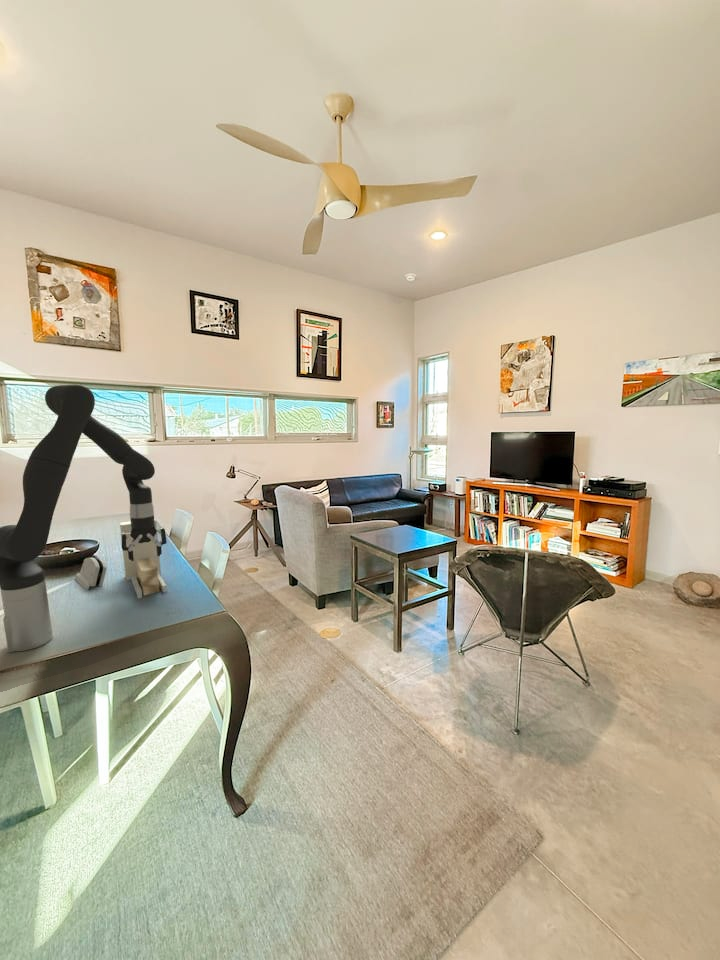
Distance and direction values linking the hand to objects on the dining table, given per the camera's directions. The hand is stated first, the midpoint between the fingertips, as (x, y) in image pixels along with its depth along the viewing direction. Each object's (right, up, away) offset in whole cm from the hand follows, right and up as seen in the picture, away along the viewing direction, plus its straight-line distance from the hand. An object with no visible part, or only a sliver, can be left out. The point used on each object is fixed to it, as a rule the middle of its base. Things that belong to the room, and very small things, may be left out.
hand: (145, 558), depth 142 cm
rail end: (0, -11, +2) cm, 11 cm away
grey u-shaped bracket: (-2, -11, +5) cm, 12 cm away
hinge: (-25, -11, +8) cm, 28 cm away
